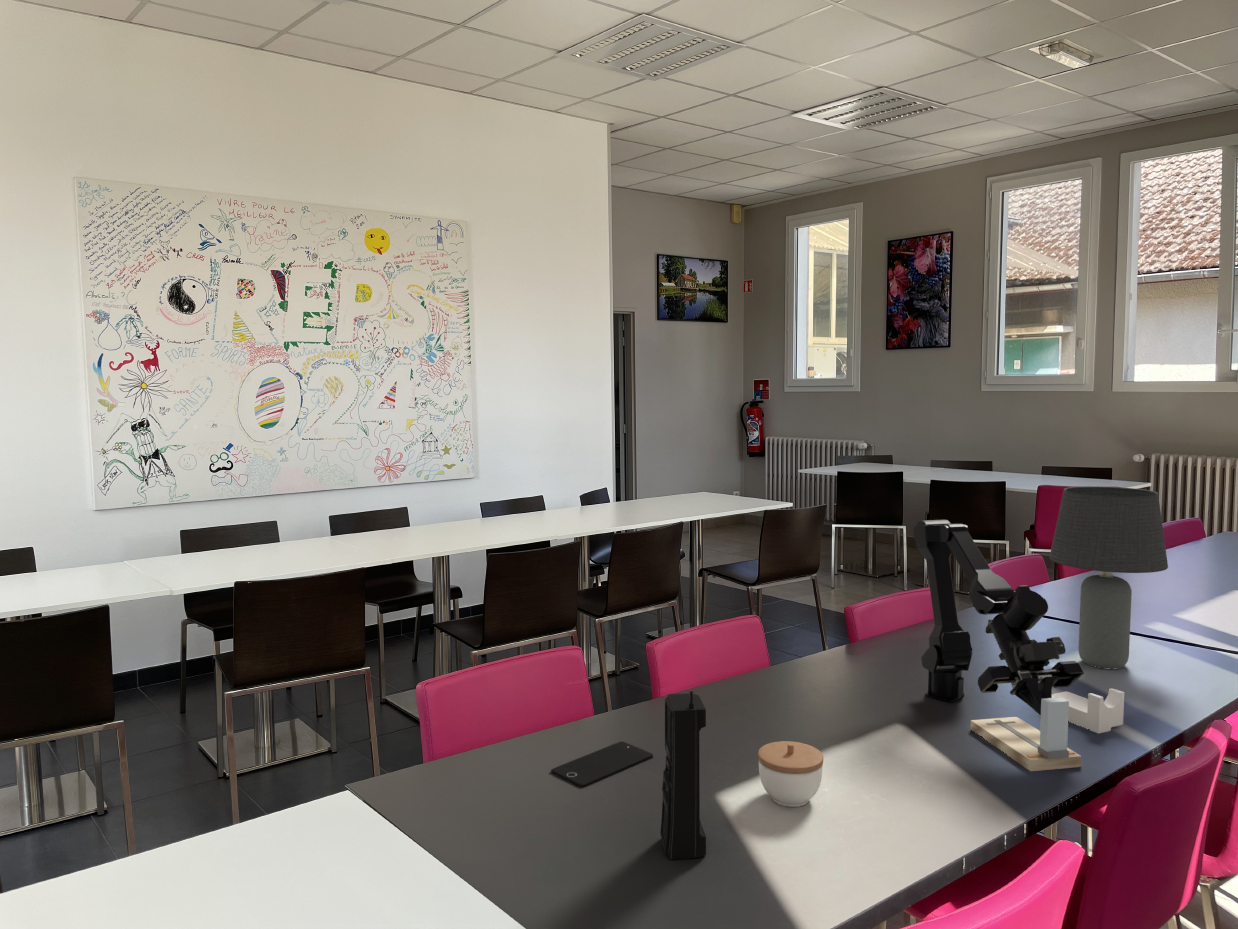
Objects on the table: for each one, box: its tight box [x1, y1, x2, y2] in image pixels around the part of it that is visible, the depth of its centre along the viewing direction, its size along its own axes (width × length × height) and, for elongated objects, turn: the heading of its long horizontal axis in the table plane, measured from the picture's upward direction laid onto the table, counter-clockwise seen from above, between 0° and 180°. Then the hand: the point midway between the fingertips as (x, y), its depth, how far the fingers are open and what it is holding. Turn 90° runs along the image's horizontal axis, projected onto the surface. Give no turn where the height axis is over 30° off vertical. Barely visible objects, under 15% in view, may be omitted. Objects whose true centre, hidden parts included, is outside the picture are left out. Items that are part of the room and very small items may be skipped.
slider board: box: [970, 716, 1082, 772], centre depth 163 cm, size 19×10×2 cm, turn 9°
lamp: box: [1048, 485, 1169, 670], centre depth 210 cm, size 25×25×43 cm
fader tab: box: [1038, 697, 1069, 759], centre depth 154 cm, size 3×4×10 cm
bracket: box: [1052, 687, 1125, 735], centre depth 177 cm, size 13×7×8 cm, turn 24°
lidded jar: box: [757, 740, 824, 808], centre depth 144 cm, size 11×11×9 cm
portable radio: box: [660, 690, 707, 860], centre depth 129 cm, size 8×6×25 cm
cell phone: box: [550, 741, 654, 789], centre depth 158 cm, size 9×18×1 cm, turn 134°
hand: (1050, 720), depth 156 cm, fingers closed, pressing on fader tab
